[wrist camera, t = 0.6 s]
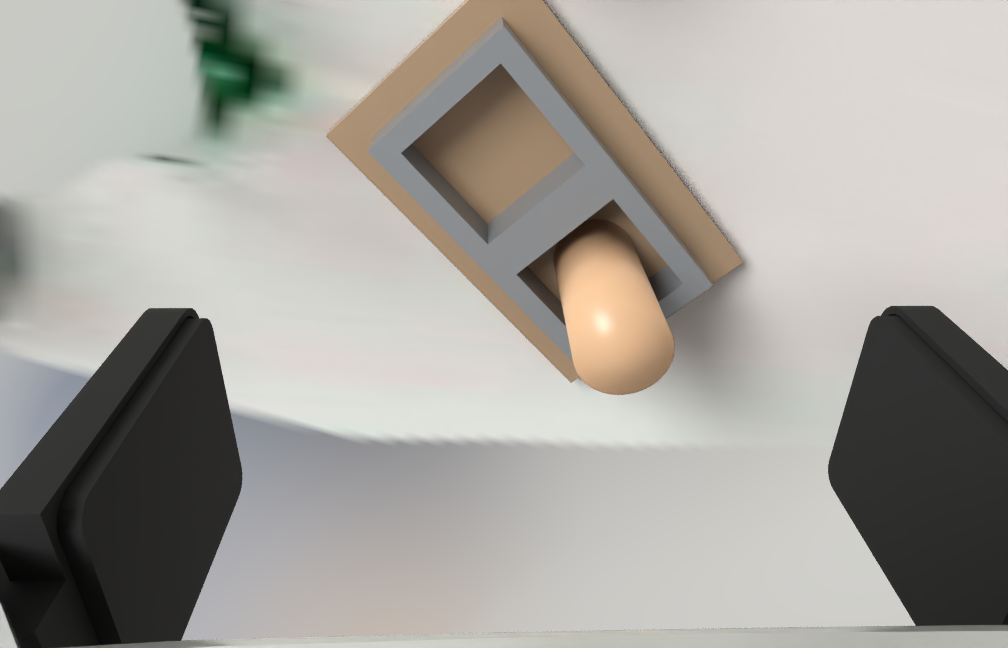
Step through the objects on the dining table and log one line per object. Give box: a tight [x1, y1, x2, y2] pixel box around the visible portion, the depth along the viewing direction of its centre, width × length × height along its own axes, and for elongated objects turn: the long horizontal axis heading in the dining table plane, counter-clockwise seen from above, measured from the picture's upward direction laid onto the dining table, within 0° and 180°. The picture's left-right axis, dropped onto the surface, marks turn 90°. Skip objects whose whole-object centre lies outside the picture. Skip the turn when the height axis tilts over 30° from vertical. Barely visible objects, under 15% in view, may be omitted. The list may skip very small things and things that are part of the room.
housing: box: [326, 0, 743, 395], centre depth 32 cm, size 11×18×10 cm, turn 41°
